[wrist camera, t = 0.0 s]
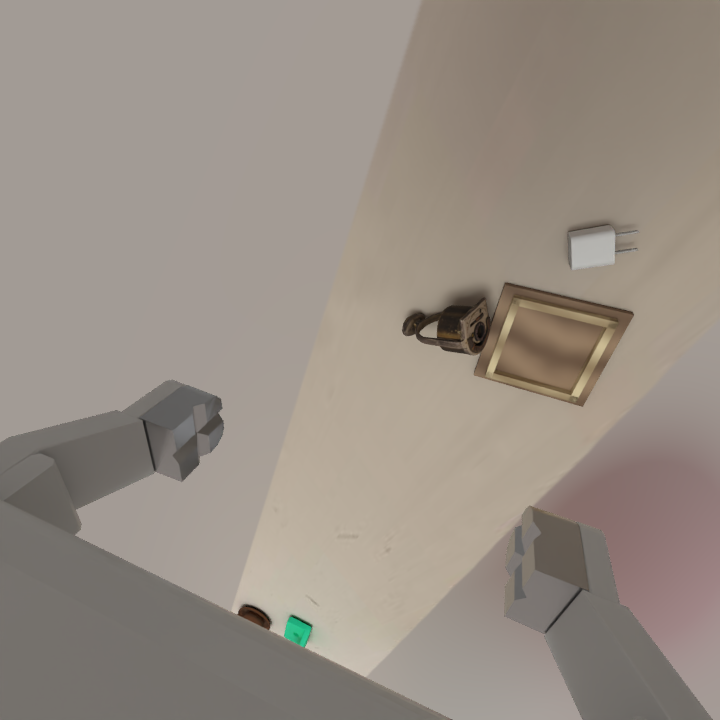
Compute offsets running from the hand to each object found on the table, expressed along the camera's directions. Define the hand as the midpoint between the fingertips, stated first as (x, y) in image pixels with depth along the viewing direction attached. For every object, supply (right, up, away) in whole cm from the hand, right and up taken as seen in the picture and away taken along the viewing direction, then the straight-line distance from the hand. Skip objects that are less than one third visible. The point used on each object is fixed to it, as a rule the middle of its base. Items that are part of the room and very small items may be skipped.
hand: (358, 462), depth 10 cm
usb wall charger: (+29, +17, +38) cm, 51 cm away
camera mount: (-19, -83, +116) cm, 144 cm away
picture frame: (+27, +5, +46) cm, 53 cm away
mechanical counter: (+14, +9, +49) cm, 52 cm away
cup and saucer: (-35, -84, +123) cm, 153 cm away
